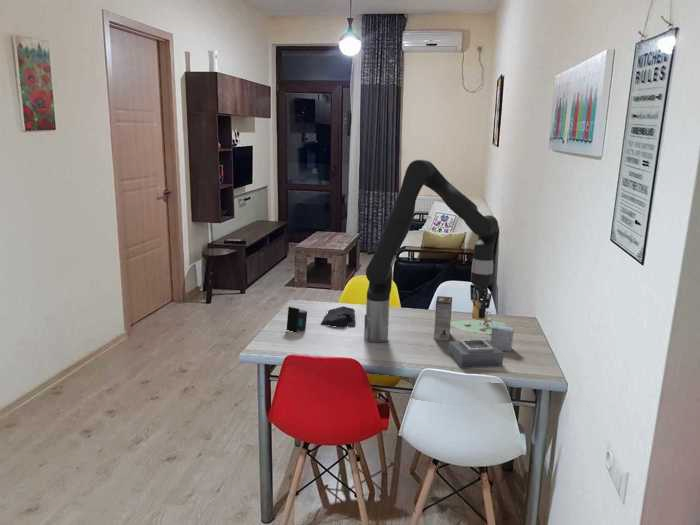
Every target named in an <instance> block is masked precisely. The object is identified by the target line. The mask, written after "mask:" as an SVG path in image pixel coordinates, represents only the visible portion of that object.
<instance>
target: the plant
mask: <svg viewBox="0 0 700 525" xmlns="http://www.w3.org/2000/svg"><path fill="white" fill-rule="evenodd" d="M492 312H493V310H491V311H486V316H485V319H484V321H480V320H476V319H465V320H451V323H450V324H451V325H450V326H451V327H453V328H455V329H459V330H462V331H466V332H471V333H474V332H477V333H476V334H478V333H488V334H491V333H492V328H493V326H494V325H498V326H504V327H508V326H507V324H506V323H505V322H500V321H497V320H492V319H491V318H490V316H491V315H492Z"/></svg>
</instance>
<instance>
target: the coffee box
mask: <svg viewBox="0 0 700 525" xmlns="http://www.w3.org/2000/svg"><path fill="white" fill-rule="evenodd" d="M452 306H453V297H452V296H441V295H440V296H439V295H438V296H437V297H436V301H435V312H434V330H433V339H434V340H440V339H441V340H443V341H449V340H450V335H451V334H450V333H451V325H450V323H451V321H452Z"/></svg>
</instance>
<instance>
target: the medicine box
mask: <svg viewBox="0 0 700 525" xmlns="http://www.w3.org/2000/svg"><path fill="white" fill-rule="evenodd" d="M514 331H515V329H514V328H513V327H510V326H507V327H504V326H498V325H494V326H493V328H492V333H491V335H490V341H491V342H492V343H493V344H494V345H495V346H496V347H498V348H499V349H500V350H501V351H503V352H511V351H512V348H513V343H514V342H513V341H514V340H513V339H514Z"/></svg>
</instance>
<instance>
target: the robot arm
mask: <svg viewBox="0 0 700 525" xmlns="http://www.w3.org/2000/svg"><path fill="white" fill-rule="evenodd" d="M423 186H424V187H427V188H428V189H430V190H432V191H433V192H435V194H436V195H438V196H439V197H440V198H441V200H442V201H443V202H444V204H445V205H446V206H447V207H448V208H449V210H451V211H452V212H453V213H454V214H455V215H457V216H458V217H459V218H460V219H462V220H463V222H464V223H465V225H466V226H467V227H468V228H469V229H470V231H472V232H473V234H475V235H476V236H478V238H477V241H476V242H475V243H474V247H473V255H472V256H473V258H472V263H471V272H470V273H471V274H470V283H471V284H470V285H469V287H470V290H469V291H470V301H471V302H472V307H473V306H475V300H478V302H479V316H478V317H479V318H485V309H486V310H487V309H489V308H490V304H491V300H492V293H489V290H488V289H489V288H488V287H489V286H490V285H492V283H493V273H494V254H495V253H494V251H495V250H494V249H495V248H494V247H495V245H496V244H495V243H496V242H497V237H498V232H499V222H498V219H497V218H496V217H494V216H493V215H491V214H489V215H488V214H487V215H483V214H482V213H481V212H480V211H479V210H478V206H477V204H476V203H475V202H473V201H472V200H471V199H470V198H468V197H467V196H466V195H465V194H463V193H462V192H461V191H460V190H459V189H458V188H456V187H455V186H454V185H453V184H452V183H451V182H449V180H447V178H445V176H444V175H443V174H442V173H441V172H440V170H439V169H438V168H437V167H436V166H435V165H434V164H433V162H431V161H429V160H425V159H419V158H418V159H414V160H412V161H411V162H410V163H409V164H408V166H407V168H406V170H405V173H404V176H403V180H402V183H401V187H400V189H399V191H398V192H399V193H398V194H397V198H396V200H395V202H394V204H393V206H392V207H391V208H392V209H391V211H390V213H389V215H388V217H387V220H386V222H385V225H384V228H383V231H382V233H381V236H380V240H379V243H378V245H377V248H376V250H375V251H374V254H373V256H372V258H371V260H370V261H369V263H368V265H367V267H366V269H365V276H366V279H367V280H368V282H369V283H368V287H367V290H366V291H367V292H366V304H365V305H366V308H365V309H366V310H365V315H364V332H363V337H364V339H365V340H366V342H367V343H369V342H371V343H384V342H386V341H388V338H389V323H390V322H389V319H390V298H391V291H392V283H393V282H392V281H393V266H392V264H393V261H394V258H395V255H396V254H397V252H398V250H399V248H400V247H401V246H402V244H403V243H404V241H405V240H406V238H407V235H408V233H409V231H410V229H411V226H412V224H413V221H414V218H415V210H416V202H417V199H418V196H419V195H420V194H419V193H420V192H421V190H422V188H423Z"/></svg>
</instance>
